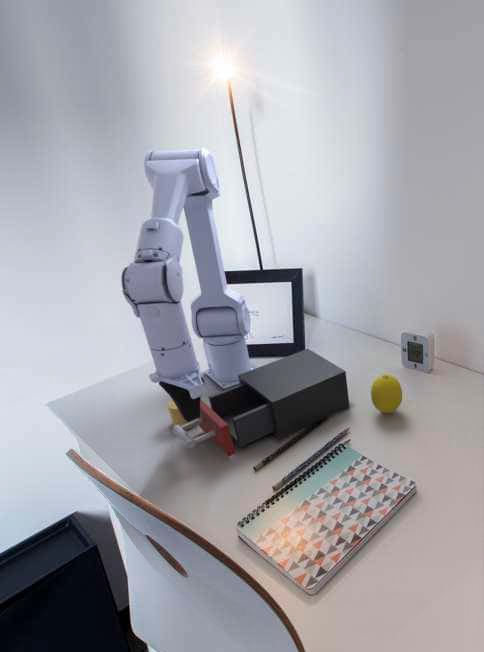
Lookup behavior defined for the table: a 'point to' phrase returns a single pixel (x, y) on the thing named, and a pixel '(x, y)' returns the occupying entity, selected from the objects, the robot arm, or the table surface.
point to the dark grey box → (299, 390)
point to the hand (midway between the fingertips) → (192, 417)
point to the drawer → (231, 419)
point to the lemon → (386, 393)
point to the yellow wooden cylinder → (177, 415)
